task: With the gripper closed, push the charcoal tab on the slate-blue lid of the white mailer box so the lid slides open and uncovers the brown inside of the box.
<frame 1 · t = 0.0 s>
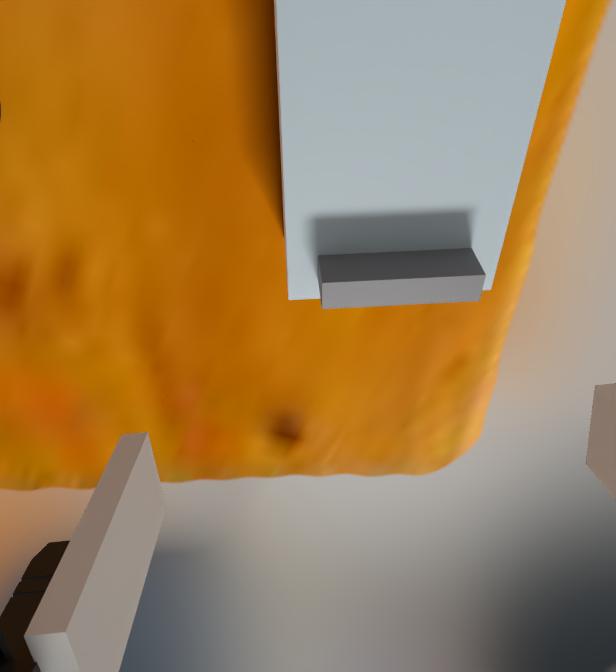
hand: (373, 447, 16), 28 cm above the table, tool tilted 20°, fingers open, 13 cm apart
mailer box: (382, 105, 37), on the table
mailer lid: (410, 163, 31), point 9 cm above the table, slide at 0.0 cm
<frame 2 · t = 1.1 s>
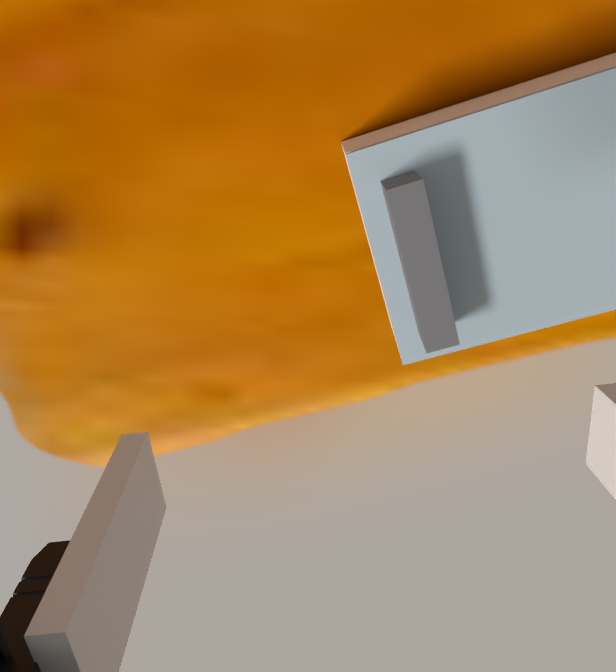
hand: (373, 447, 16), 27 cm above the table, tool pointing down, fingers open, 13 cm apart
mailer box: (501, 196, 40), on the table
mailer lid: (549, 225, 32), point 9 cm above the table, slide at 0.0 cm
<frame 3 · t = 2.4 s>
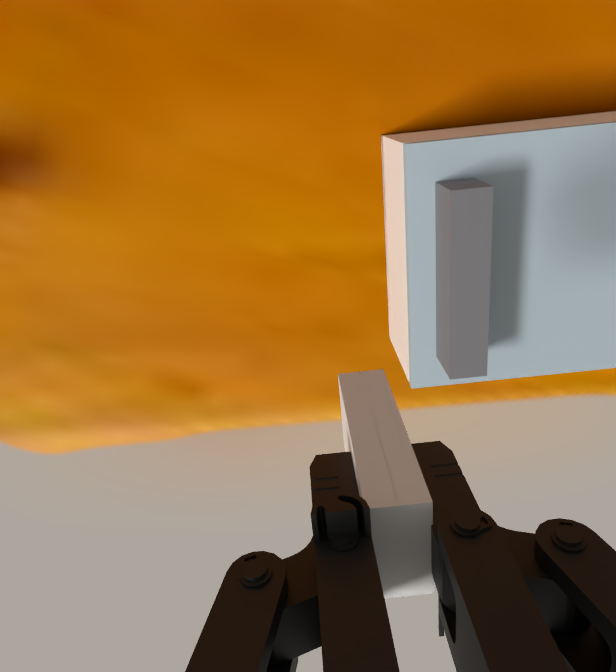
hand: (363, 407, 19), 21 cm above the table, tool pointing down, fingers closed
mailer box: (531, 228, 38), on the table
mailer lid: (600, 264, 30), point 9 cm above the table, slide at 0.0 cm
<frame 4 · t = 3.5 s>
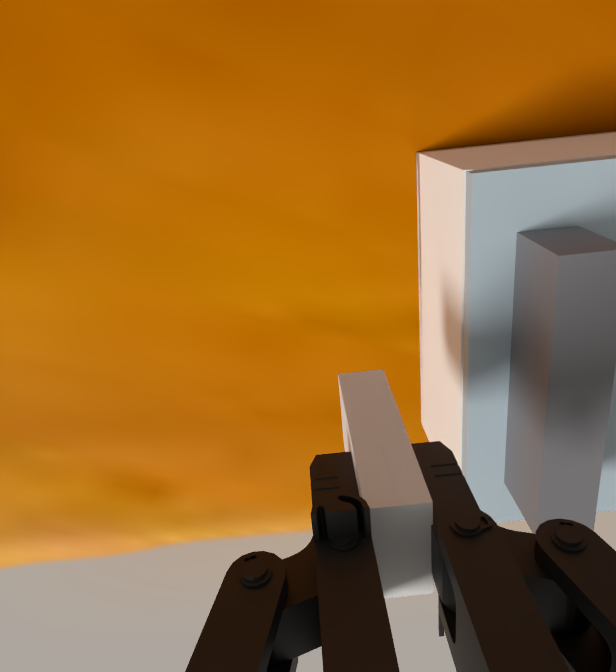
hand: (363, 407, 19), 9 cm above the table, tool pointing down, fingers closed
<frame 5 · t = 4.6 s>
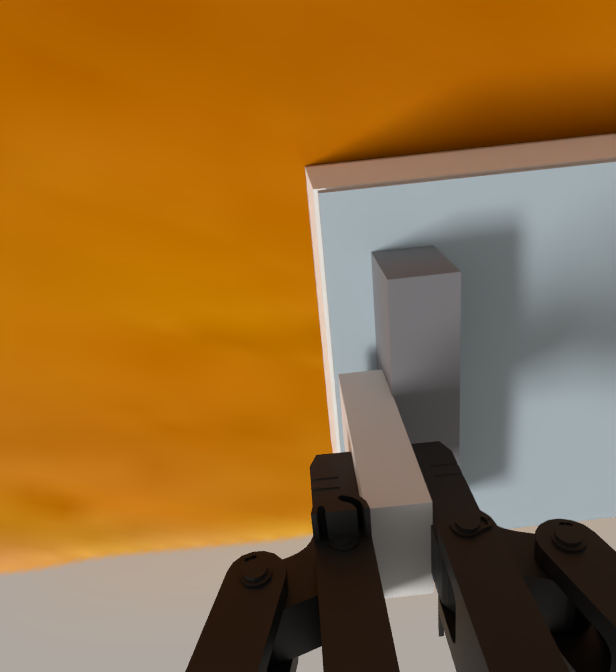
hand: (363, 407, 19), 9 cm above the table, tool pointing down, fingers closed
mailer box: (523, 293, 27), on the table
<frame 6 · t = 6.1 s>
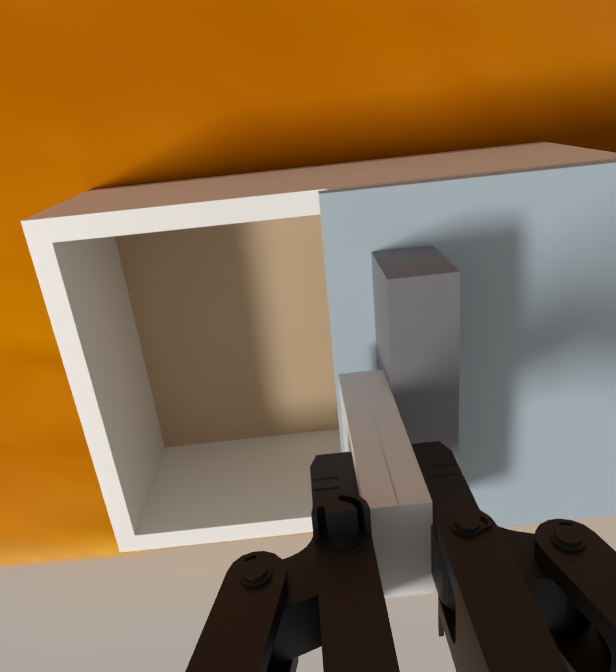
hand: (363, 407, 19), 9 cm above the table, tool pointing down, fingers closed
mailer box: (329, 314, 27), on the table
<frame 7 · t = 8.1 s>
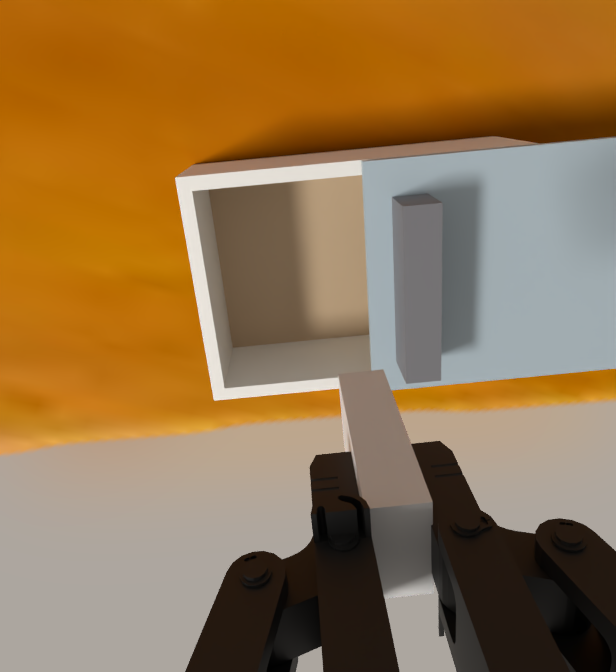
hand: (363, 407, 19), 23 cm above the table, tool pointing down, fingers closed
mailer box: (349, 252, 40), on the table
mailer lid: (548, 276, 31), point 9 cm above the table, slide at 10.2 cm
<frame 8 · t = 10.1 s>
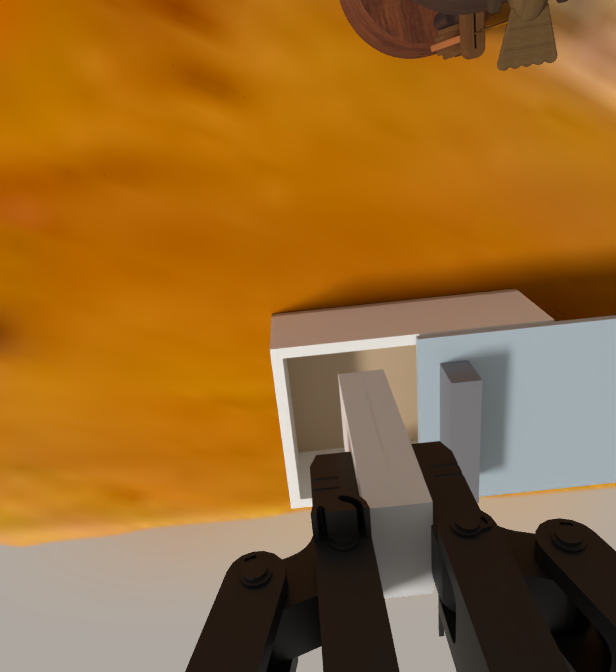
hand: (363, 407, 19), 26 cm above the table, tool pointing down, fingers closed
mailer box: (396, 377, 48), on the table
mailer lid: (562, 421, 40), point 9 cm above the table, slide at 10.2 cm
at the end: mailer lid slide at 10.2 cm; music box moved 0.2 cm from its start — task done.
